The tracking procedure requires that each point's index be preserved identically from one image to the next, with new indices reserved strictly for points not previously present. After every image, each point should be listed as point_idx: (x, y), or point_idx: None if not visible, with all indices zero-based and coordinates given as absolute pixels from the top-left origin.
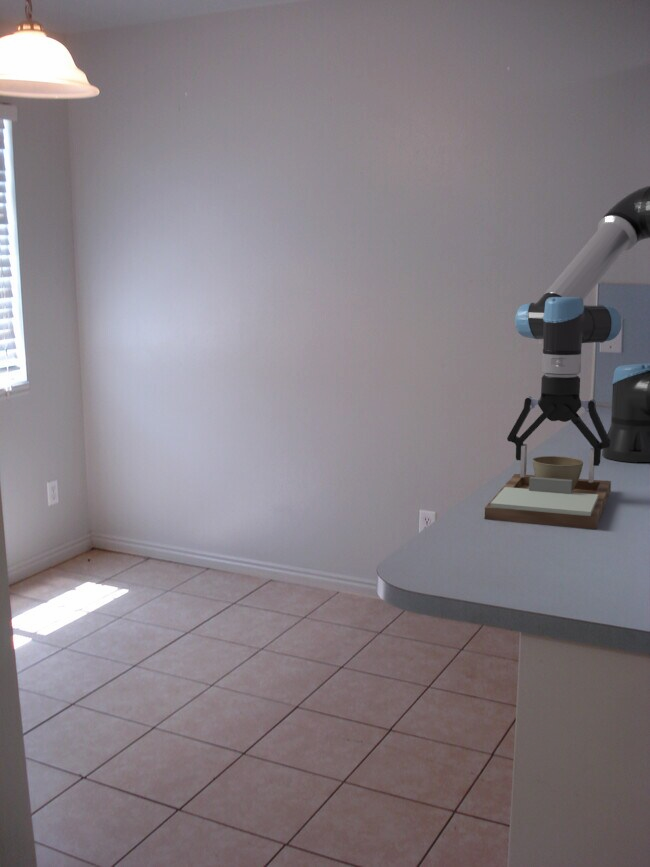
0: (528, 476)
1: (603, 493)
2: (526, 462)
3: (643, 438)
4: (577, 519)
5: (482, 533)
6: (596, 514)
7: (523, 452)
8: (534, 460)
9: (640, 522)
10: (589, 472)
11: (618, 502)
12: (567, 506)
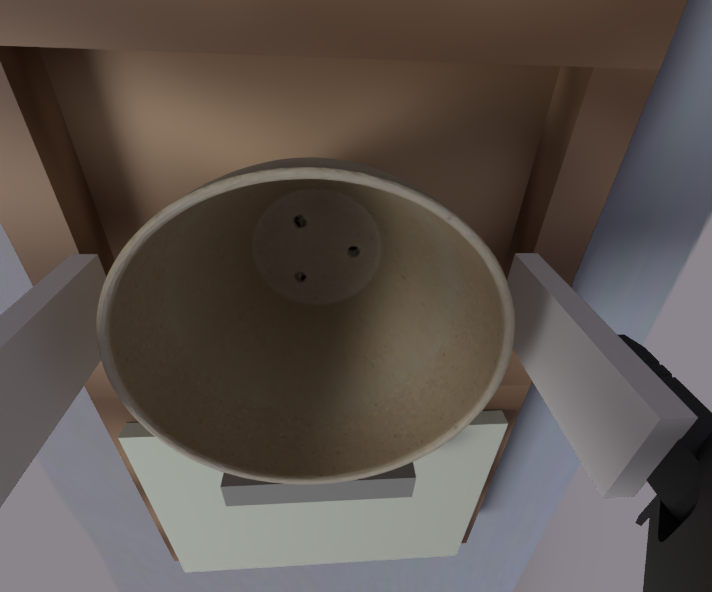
0: (37, 27)
1: None
2: (44, 303)
3: None
4: None
5: (228, 580)
6: (470, 528)
7: (15, 470)
8: (122, 357)
9: None
10: (521, 360)
11: (597, 250)
12: (396, 542)
